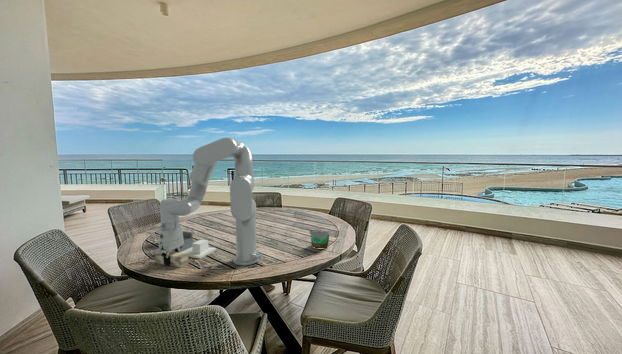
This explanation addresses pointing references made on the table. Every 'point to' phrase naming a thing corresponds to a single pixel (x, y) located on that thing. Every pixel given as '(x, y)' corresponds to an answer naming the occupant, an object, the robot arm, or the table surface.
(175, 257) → the top rail
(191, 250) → the cup bracket
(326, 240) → the food container
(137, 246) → the table surface
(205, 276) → the table surface
